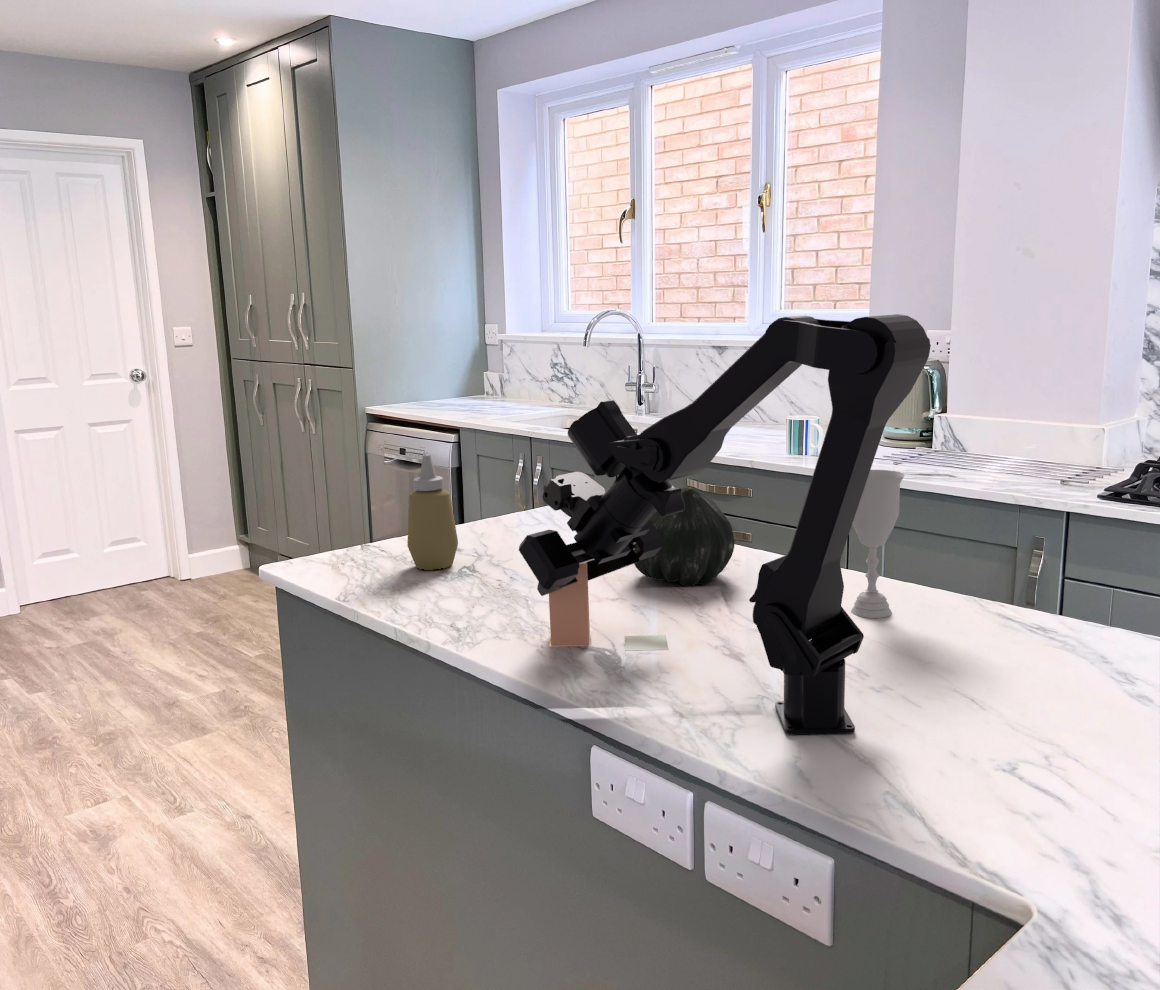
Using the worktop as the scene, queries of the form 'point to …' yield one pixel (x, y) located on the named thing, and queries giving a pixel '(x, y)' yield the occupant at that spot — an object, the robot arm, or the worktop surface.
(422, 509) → the squeeze bottle
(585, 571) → the terracotta block
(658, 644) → the walnut board
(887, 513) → the chalice
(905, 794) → the worktop surface
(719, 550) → the squash
